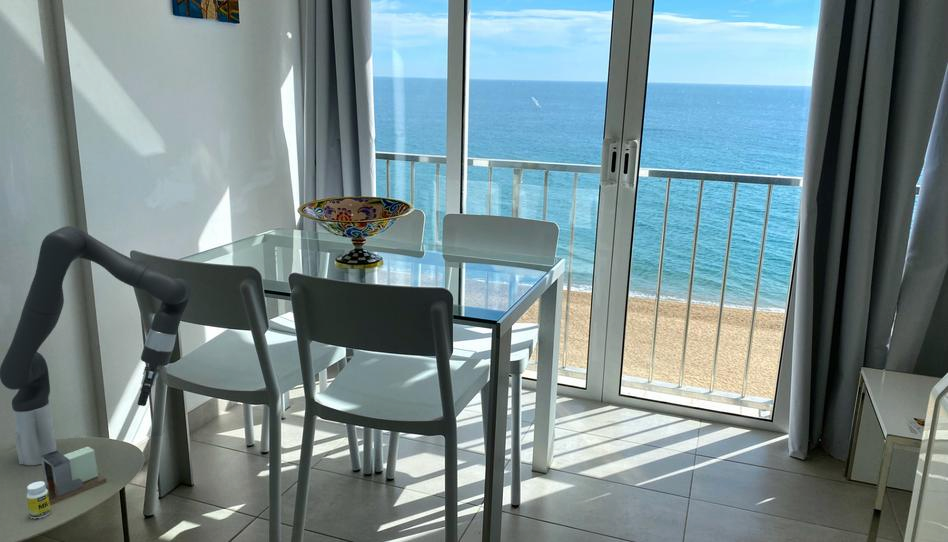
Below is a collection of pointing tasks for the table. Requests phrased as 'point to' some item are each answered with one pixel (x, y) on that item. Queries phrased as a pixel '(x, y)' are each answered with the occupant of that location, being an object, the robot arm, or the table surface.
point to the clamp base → (64, 478)
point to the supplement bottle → (38, 500)
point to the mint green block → (83, 464)
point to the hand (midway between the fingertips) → (142, 401)
